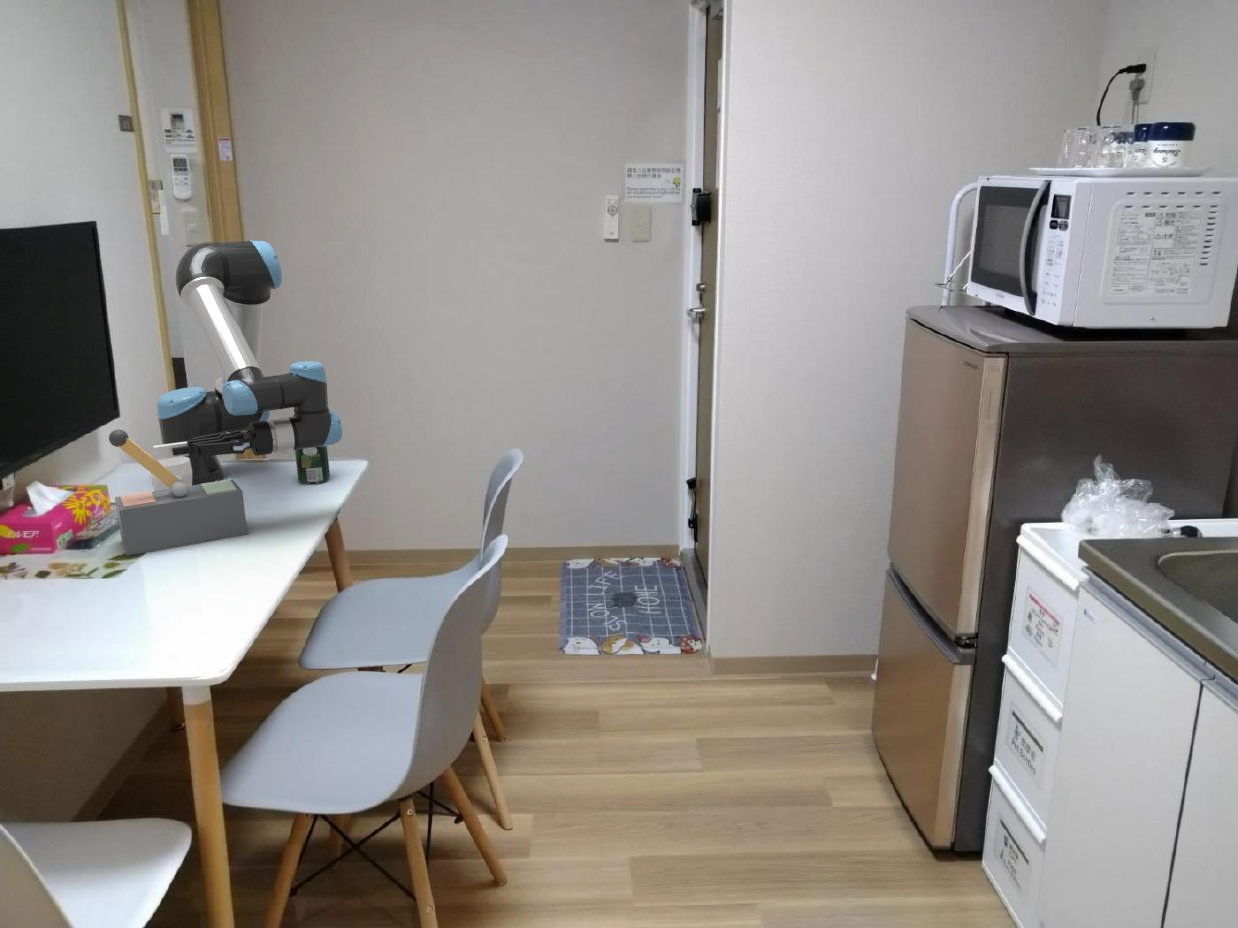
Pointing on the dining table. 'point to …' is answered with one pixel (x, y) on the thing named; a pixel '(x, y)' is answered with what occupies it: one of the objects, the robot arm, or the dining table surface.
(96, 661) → the dining table surface
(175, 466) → the cup
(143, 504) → the breaker box
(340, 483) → the dining table surface
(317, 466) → the coffee jar
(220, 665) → the dining table surface
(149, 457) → the lever
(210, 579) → the dining table surface
